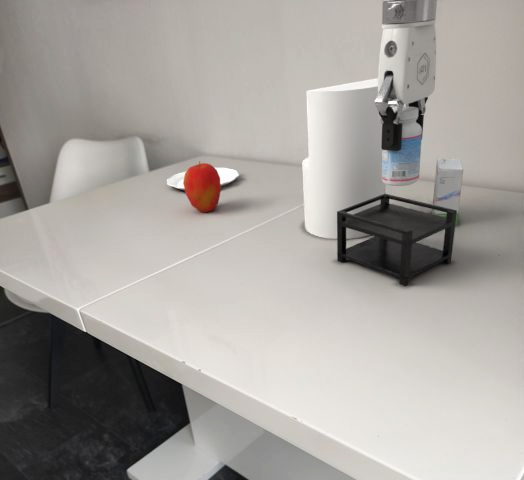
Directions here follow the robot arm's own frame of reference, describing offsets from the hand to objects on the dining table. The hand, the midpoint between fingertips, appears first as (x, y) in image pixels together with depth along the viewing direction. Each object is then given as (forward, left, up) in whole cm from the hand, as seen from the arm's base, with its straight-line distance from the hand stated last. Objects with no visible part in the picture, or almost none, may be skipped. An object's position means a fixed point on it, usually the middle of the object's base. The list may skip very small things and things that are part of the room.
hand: (402, 144), depth 87 cm
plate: (+75, -23, -22) cm, 82 cm away
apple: (+56, -6, -22) cm, 61 cm away
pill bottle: (0, 0, -6) cm, 6 cm away
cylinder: (+20, -14, -22) cm, 33 cm away
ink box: (+3, -27, -22) cm, 34 cm away
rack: (+1, -2, -21) cm, 21 cm away
